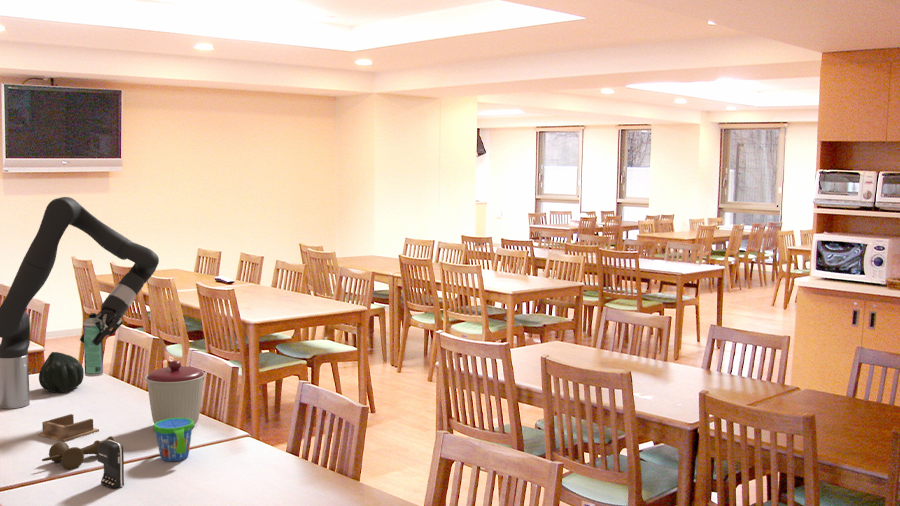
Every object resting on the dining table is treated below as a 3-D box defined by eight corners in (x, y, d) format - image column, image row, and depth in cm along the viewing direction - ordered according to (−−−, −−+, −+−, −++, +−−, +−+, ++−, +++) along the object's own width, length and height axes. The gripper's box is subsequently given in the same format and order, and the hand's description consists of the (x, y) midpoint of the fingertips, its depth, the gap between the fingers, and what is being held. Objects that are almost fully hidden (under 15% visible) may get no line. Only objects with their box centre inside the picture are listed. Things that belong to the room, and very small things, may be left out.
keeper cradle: (38, 435, 249) (38, 422, 249) (73, 425, 260) (73, 412, 260) (64, 441, 244) (64, 428, 243) (99, 431, 254) (98, 418, 254)
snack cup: (151, 451, 236) (150, 417, 235) (189, 447, 241) (189, 413, 240) (158, 469, 222) (157, 433, 221) (198, 464, 227) (197, 428, 226)
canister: (159, 439, 247) (158, 370, 245) (136, 424, 261) (135, 359, 259) (215, 427, 259) (215, 361, 257) (191, 414, 273) (190, 352, 271)
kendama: (122, 458, 232) (49, 475, 217) (106, 451, 239) (34, 467, 224) (122, 437, 232) (49, 453, 217) (105, 431, 238) (34, 445, 223)
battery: (96, 484, 211) (94, 441, 210) (109, 480, 214) (108, 437, 213) (111, 491, 207) (110, 447, 206) (125, 486, 210) (124, 443, 209)
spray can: (106, 372, 268) (105, 312, 266) (97, 377, 263) (96, 315, 261) (90, 372, 269) (89, 311, 267) (81, 376, 263) (80, 314, 261)
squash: (97, 374, 303) (76, 341, 306) (63, 384, 290) (41, 350, 292) (78, 395, 309) (57, 363, 311) (44, 406, 295) (22, 373, 298)
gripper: (97, 292, 273) (66, 333, 264) (127, 296, 266) (96, 338, 257) (111, 305, 278) (81, 346, 269) (140, 310, 271) (110, 352, 262)
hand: (88, 342), depth 263 cm, fingers closed on spray can, 5 cm apart
